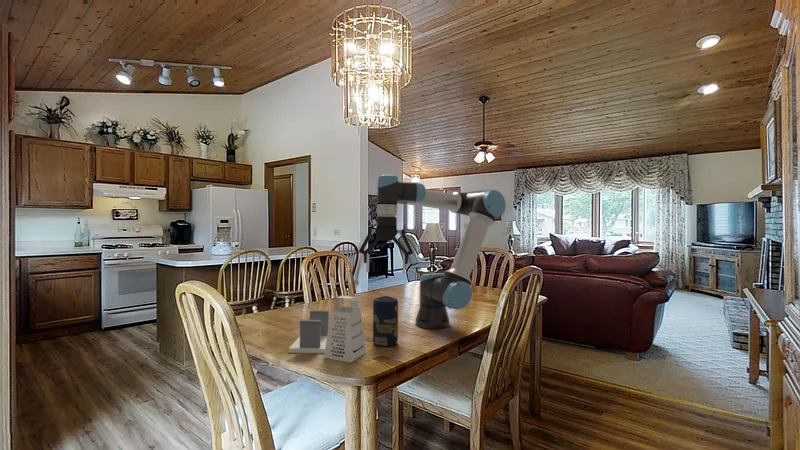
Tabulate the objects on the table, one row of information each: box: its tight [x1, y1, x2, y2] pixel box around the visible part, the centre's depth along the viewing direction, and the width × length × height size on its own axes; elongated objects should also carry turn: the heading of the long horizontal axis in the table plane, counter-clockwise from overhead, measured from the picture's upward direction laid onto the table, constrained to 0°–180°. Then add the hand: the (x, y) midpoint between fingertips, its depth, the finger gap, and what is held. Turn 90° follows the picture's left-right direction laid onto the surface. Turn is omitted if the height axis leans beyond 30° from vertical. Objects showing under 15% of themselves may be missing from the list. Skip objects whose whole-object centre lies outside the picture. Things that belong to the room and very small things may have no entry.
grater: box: [323, 295, 367, 363], centre depth 131 cm, size 10×10×20 cm
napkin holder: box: [288, 309, 330, 354], centre depth 141 cm, size 14×17×11 cm
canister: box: [372, 295, 399, 347], centre depth 143 cm, size 10×10×18 cm
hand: (385, 272), depth 143 cm, fingers open, 13 cm apart
